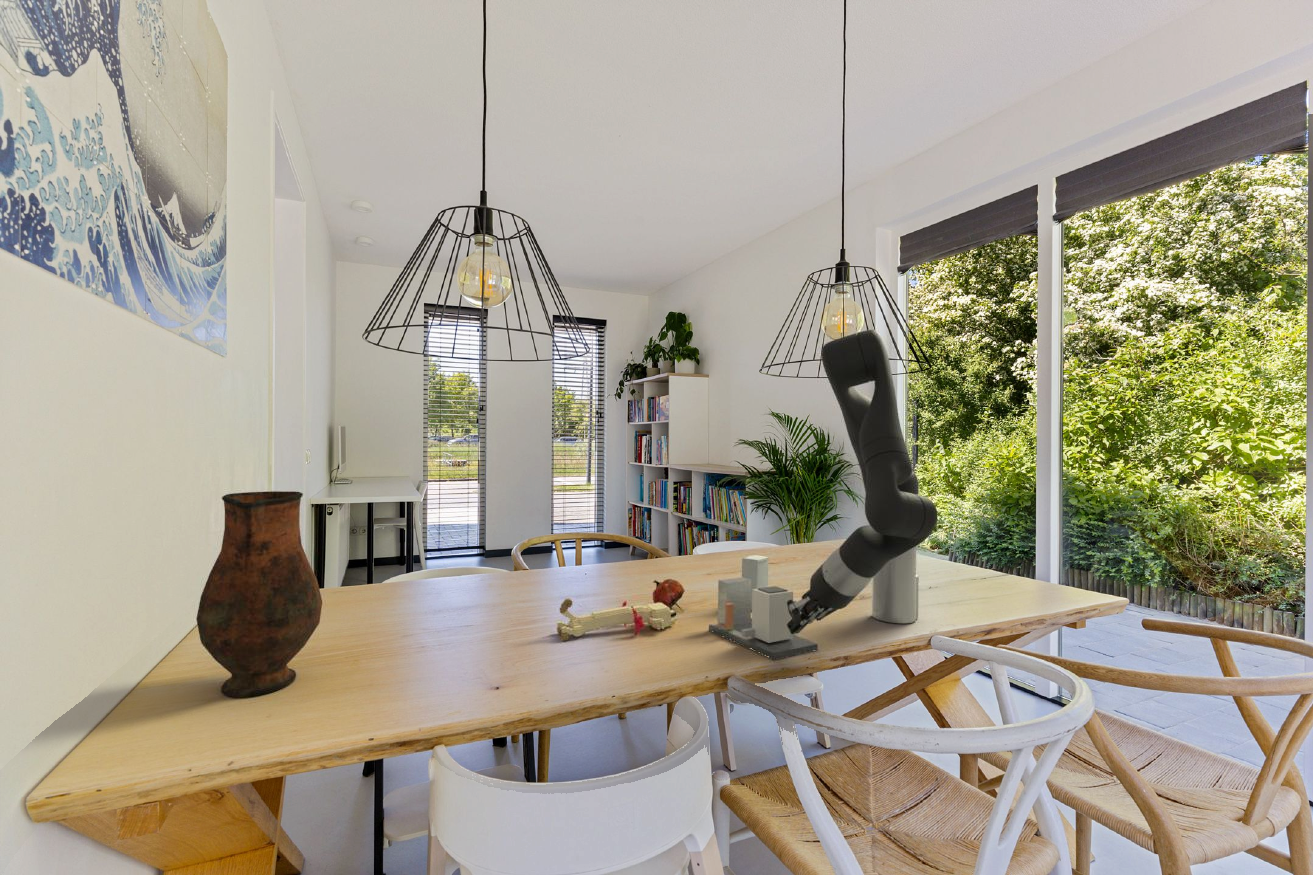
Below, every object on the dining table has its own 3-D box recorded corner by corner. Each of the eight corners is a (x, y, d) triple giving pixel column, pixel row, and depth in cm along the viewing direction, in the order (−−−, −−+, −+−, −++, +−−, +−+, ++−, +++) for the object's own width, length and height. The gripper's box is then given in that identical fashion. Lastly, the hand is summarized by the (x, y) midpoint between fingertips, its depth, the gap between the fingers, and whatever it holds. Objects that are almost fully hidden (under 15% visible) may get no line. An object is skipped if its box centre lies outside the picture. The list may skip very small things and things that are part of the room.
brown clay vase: (171, 711, 88) (176, 498, 88) (232, 660, 109) (236, 487, 109) (302, 700, 92) (306, 497, 92) (337, 653, 113) (340, 487, 113)
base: (750, 623, 136) (750, 576, 136) (817, 650, 118) (818, 596, 118) (708, 630, 130) (709, 581, 130) (773, 659, 113) (773, 602, 113)
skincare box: (756, 611, 145) (757, 560, 145) (740, 608, 148) (741, 557, 148) (768, 606, 150) (769, 556, 150) (753, 603, 153) (753, 554, 153)
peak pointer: (730, 627, 127) (731, 602, 127) (733, 628, 126) (733, 603, 126) (725, 628, 126) (725, 603, 126) (727, 629, 125) (727, 604, 125)
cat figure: (566, 652, 119) (686, 629, 129) (563, 607, 119) (683, 586, 128) (555, 637, 129) (667, 616, 138) (552, 595, 128) (664, 577, 138)
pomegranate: (686, 616, 148) (660, 586, 153) (700, 596, 145) (672, 565, 150) (666, 626, 143) (639, 594, 148) (679, 605, 139) (651, 573, 144)
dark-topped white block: (775, 631, 125) (775, 584, 125) (792, 638, 121) (793, 590, 121) (741, 637, 121) (742, 589, 121) (758, 644, 116) (758, 594, 116)
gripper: (857, 554, 112) (808, 607, 122) (803, 560, 105) (755, 616, 116) (881, 590, 107) (827, 642, 118) (826, 599, 100) (774, 653, 111)
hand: (791, 629), depth 117 cm, fingers closed
